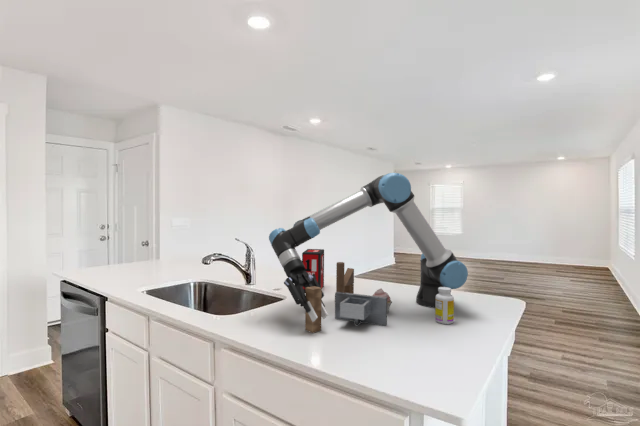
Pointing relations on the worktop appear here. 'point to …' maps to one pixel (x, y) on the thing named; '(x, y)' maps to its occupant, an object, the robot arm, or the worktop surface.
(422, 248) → the robot arm
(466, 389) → the worktop surface
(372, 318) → the cup bracket
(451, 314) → the supplement bottle
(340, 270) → the brown wooden piece
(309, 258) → the cleaning product box
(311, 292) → the post
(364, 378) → the worktop surface
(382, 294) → the cupcake
